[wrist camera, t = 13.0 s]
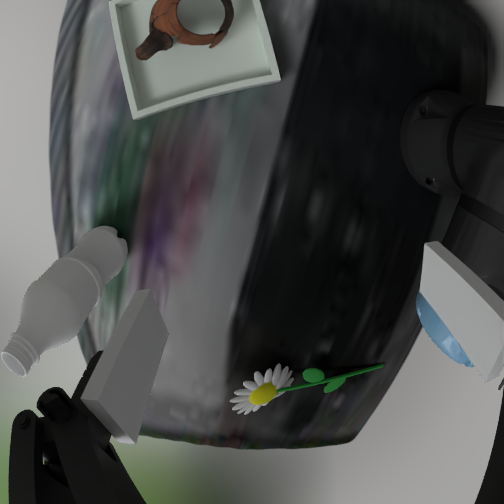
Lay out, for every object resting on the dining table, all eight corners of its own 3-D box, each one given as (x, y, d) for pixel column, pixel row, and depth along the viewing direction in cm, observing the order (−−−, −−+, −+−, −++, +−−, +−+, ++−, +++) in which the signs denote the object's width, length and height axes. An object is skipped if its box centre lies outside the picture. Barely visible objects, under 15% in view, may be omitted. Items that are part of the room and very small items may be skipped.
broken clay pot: (177, -16, 25) (202, -38, 19) (225, 27, 31) (258, 16, 25) (111, 47, 26) (118, 33, 20) (166, 88, 32) (187, 87, 26)
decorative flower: (383, 333, 51) (223, 364, 48) (394, 350, 47) (226, 386, 44) (369, 374, 57) (231, 402, 54) (378, 390, 53) (234, 422, 50)
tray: (246, -32, 24) (246, -40, 22) (278, 82, 31) (280, 79, 29) (116, 7, 25) (108, 2, 23) (140, 119, 33) (133, 119, 31)
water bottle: (121, 274, 42) (43, 403, 20) (84, 249, 40) (-14, 361, 18) (140, 237, 40) (49, 367, 17) (99, 211, 38) (-18, 316, 15)
